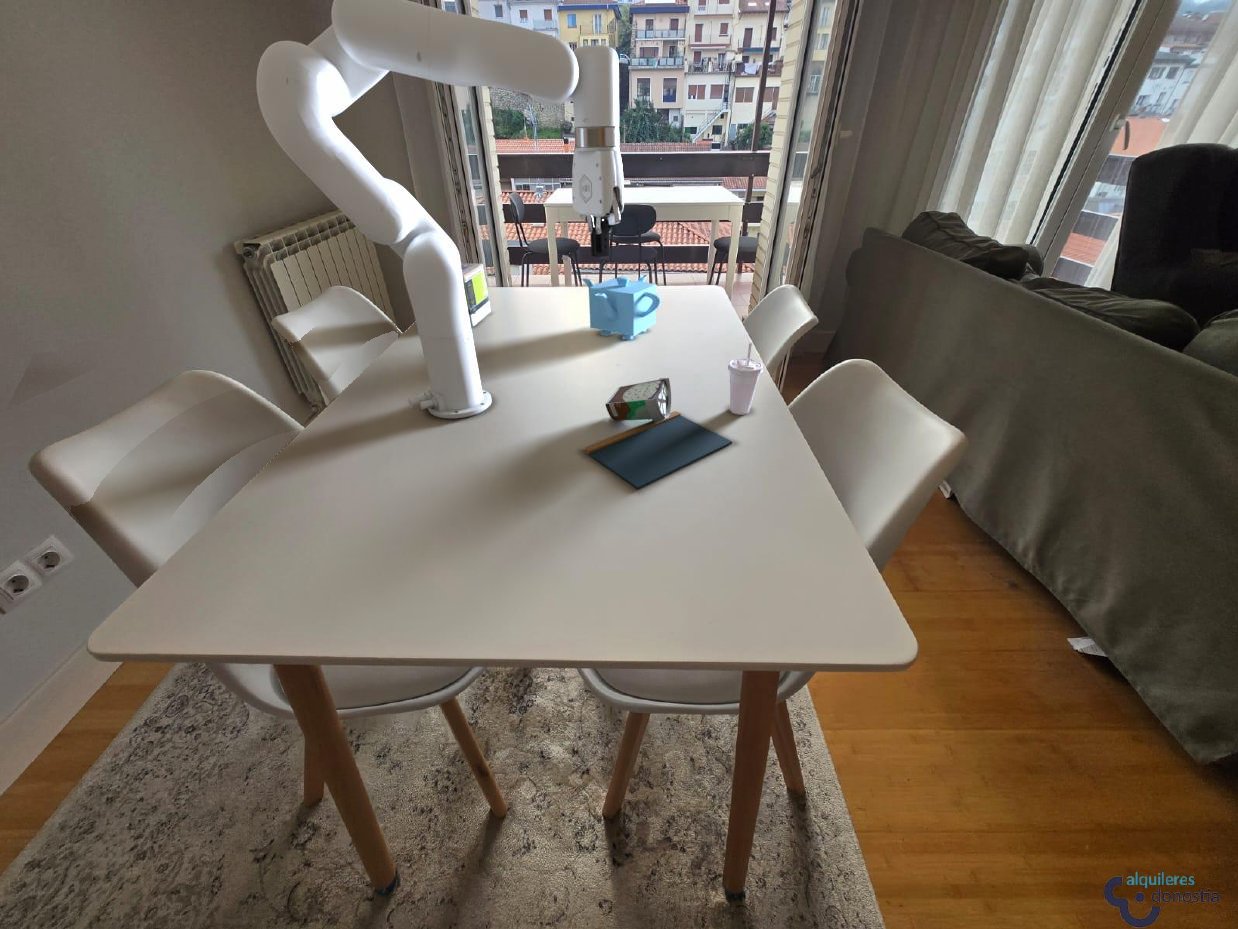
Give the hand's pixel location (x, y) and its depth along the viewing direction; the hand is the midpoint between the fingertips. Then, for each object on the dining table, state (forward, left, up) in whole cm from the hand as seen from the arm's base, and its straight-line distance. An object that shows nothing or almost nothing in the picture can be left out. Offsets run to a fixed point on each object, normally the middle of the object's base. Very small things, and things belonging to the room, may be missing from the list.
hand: (600, 255), depth 96 cm
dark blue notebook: (-8, -27, -27) cm, 39 cm away
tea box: (-2, +66, -27) cm, 71 cm away
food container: (-7, -13, -25) cm, 29 cm away
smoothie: (+14, -26, -27) cm, 40 cm away
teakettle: (+26, +27, -27) cm, 46 cm away
